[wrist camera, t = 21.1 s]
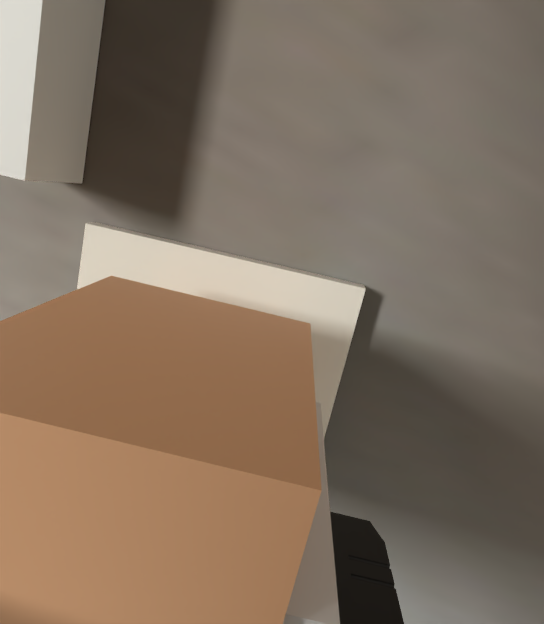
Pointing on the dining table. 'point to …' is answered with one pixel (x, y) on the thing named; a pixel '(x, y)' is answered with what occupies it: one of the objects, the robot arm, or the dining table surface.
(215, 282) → the coaster
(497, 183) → the dining table surface
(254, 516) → the block
